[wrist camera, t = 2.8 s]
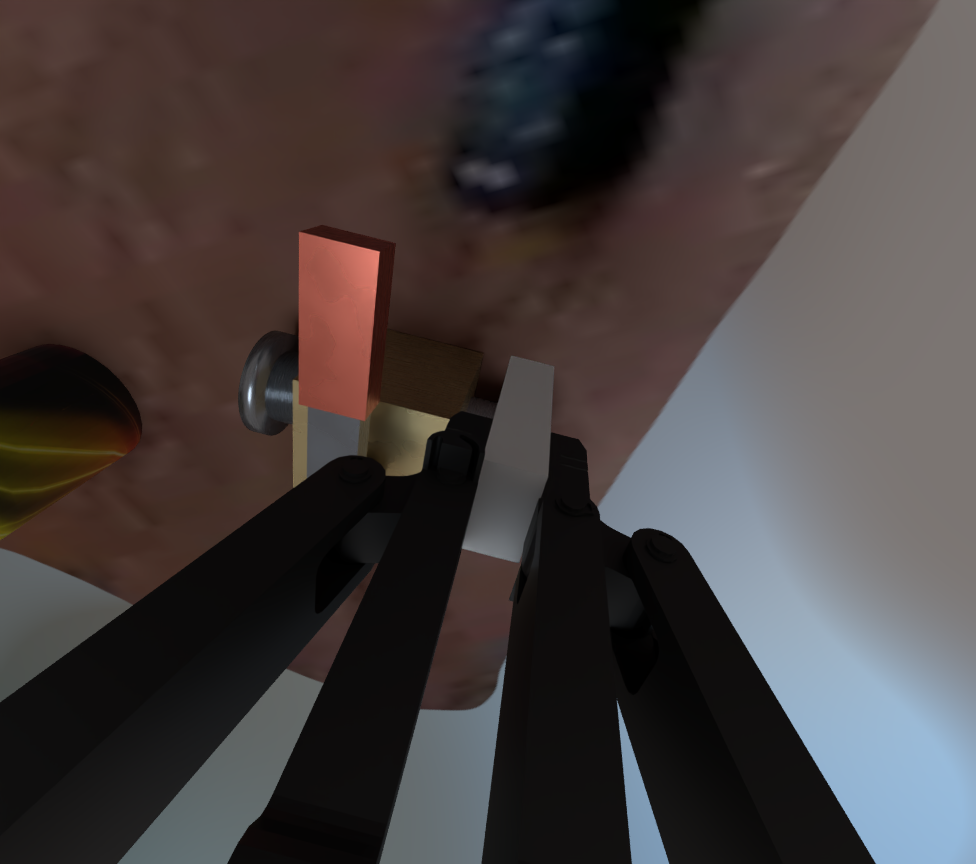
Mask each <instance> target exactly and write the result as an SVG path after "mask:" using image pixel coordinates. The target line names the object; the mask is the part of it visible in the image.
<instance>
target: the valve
mask: <svg viewBox="0 0 976 864" xmlns="http://www.w3.org/2000/svg"><path fill="white" fill-rule="evenodd" d="M483 354H484V353H480V352H476V351H472V350H469V349H465V348H461V347H457V346H453V345H449V344H445V343H441V342H437V341H433V340H429V339H425V338H421V337H417V336H413V335H409V334H405V333H401V332H397V331H393V330H389V329H387V334H386V344H385V353H384V363H383V373H382V383H381V393H380V402H379V403H378V405H377V406H376V407H375V408H374V410H373V411H372V412H371V415H370V425H369V436H368V447H367V457H370V458H372V459H374V460H375V461H377V462H379V463H380V464H381V465H382V466H383V468H384V469H385V471H386V475H387V476H408V475H413V474H417V473H419V472H421V470H422V467H423V461H424V455H425V449H426V443H427V439H428V438H429V437H430V436H431V435H432V434H433V433H436V432H439V431H445V429H446V426H447V424H448V422H449V420H450V418H451V417H452V416H453V415H455V414H457V413H458V412H460V411H464V412H468V413H472V414H476V415H480V416H484V417H487V418H491V419H494V415H495V412H496V408H497V405H498V403H496V402H492V401H488V400H484V399H480V398H476V397H474V396H475V391H476V387H477V382H478V377H479V373H480V368H481V364H482V359H483ZM238 404H239V412H240V416H241V419H242V421H243V423H244V425H245V426H246V427H247V428H248V429H249V430H251V431H254V432H258V433H262V434H266V435H271V436H272V435H276V434H278V433H280V432H281V431H283V430H284V429H285V428H286V427H287V426H288V424H293V488H294V487H296V486H297V485H298V484H300V483H301V482H302V481H304V480H305V479H307V423H308V407H307V406H303V405H299V337H298V336H296V335H293V334H289V333H285V332H281V331H271V332H269V333H267V334H265V335H264V336H263V337H262V338H261V339H260V340H259V341H258V342H257V343H256V344H255V346H254V347H253V349H252V351H251V352H250V354H249V356H248V358H247V361H246V363H245V366H244V369H243V372H242V375H241V380H240V385H239V395H238Z"/></svg>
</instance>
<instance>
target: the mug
mask: <svg viewBox="0 0 976 864" xmlns="http://www.w3.org/2000/svg"><path fill="white" fill-rule="evenodd" d="M141 434H142V422H141V417H140V413H139V410H138V408H137V405H136V403H135V401H134V399H133V398H132V396H131V394H130V393H129V391H128V390H127V389H126V387H125V386H124V385H123V383H122V382H121V381H120V380H119V379H118V378H117V377H116V376H115V375H114V374H113V373H112V372H111V371H110V370H109V369H108V368H106V367H105V366H104V365H102V364H101V363H100V362H99V361H97V360H95V359H94V358H92V357H90V356H89V355H87V354H85V353H83V352H80V351H78V350H76V349H73V348H70V347H66V346H62V345H54V344H46V345H40V346H36V347H34V348H31V349H28V350H25V351H23V352H20V353H17V354H14V355H12V356H9V357H6V358H3V359H1V360H0V540H1V539H3V538H4V537H6V536H7V535H9V534H10V533H11V532H13V531H14V530H16V529H17V528H19V527H20V526H22V525H23V524H25V523H26V522H28V521H29V520H30V519H32V518H33V517H35V516H36V515H38V514H39V513H41V512H42V511H44V510H45V509H47V508H48V507H50V506H51V505H52V504H54V503H55V502H57V501H58V500H60V499H61V498H63V497H64V496H66V495H67V494H69V493H70V492H71V491H73V490H74V489H76V488H77V487H79V486H80V485H82V484H83V483H85V482H86V481H88V480H89V479H91V478H92V477H93V476H95V475H96V474H98V473H99V472H101V471H102V470H104V469H105V468H107V467H108V466H110V465H111V464H112V463H114V462H115V461H117V460H118V459H120V458H121V457H123V456H124V455H126V454H127V453H129V452H130V451H131V450H133V449H134V448H135V447H136V445H137V444H138V443H139V440H140V437H141Z"/></svg>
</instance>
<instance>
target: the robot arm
mask: <svg viewBox="0 0 976 864" xmlns="http://www.w3.org/2000/svg"><path fill="white" fill-rule="evenodd" d="M553 381H554V366H551V365H547V364H543V363H539V362H535V361H531V360H527V359H523V358H519V357H515V356H511V358H510V362H509V365H508V369H507V372H506V376H505V380H504V383H503V387H502V390H501V394H500V398H499V401H498V405H497V408H496V412H495V415H494V419H491V418H487V417H484V416H480V415H476V414H472V413H468V412H464V411H460V412H458V413H457V414H455V415H453V416H452V417H451V418H450V420H449V422H448V424H447V426H446V429H445V431H439V432H436V433H433V434H432V435H431V436H430V437H429V438H428V439H427V443H426V449H425V455H424V461H423V467H422V470H421V472H419V473H417V474H413V475H408V476H387V475H386V471H385V469H384V468H383V466H382V465H381V464H380V463H379V462H377V461H375V460H374V459H372V458H368V457H365V456H359V455H348V456H342V457H338V458H336V459H334V460H332V461H330V462H328V463H327V464H326V465H324V466H323V467H322V468H320V469H319V470H317V471H316V472H315V473H313V474H312V475H311V476H309V477H308V478H307V479H305V480H304V481H302V482H301V483H300V484H298V485H297V486H296V487H294V488H293V489H292V490H290V491H289V492H287V493H286V494H285V495H283V496H282V497H281V498H279V499H278V500H276V501H275V502H274V503H272V504H271V505H270V506H268V507H267V508H266V509H264V510H263V511H261V512H260V513H259V514H257V515H256V516H255V517H253V518H252V519H250V520H249V521H248V522H246V523H245V524H244V525H242V526H241V527H240V528H238V529H237V530H235V531H234V532H233V533H231V534H230V535H229V536H227V537H226V538H224V539H223V540H222V541H220V542H219V543H218V544H216V545H215V546H214V547H212V548H211V549H209V550H208V551H207V552H205V553H204V554H203V555H201V556H200V557H199V558H197V559H196V560H194V561H193V562H192V563H190V564H189V565H188V566H186V567H185V568H183V569H182V570H181V571H179V572H178V573H177V574H175V575H174V576H173V577H171V578H170V579H168V580H167V581H166V582H164V583H163V584H162V585H160V586H159V587H157V588H156V589H155V590H153V591H152V592H151V593H149V594H148V595H147V596H145V597H144V598H142V599H141V600H140V601H138V602H137V603H136V604H134V605H133V606H131V607H130V608H129V609H127V610H126V611H125V612H124V613H122V614H121V615H119V616H118V617H116V618H115V619H114V620H112V621H111V622H110V623H108V624H107V625H105V626H104V627H103V628H101V629H100V630H99V631H97V632H96V633H95V634H93V635H92V636H90V637H89V638H88V639H87V640H85V641H84V642H82V643H81V644H80V645H78V646H77V647H75V648H74V649H73V650H71V651H70V652H69V653H67V654H66V655H64V656H63V657H62V658H60V659H59V660H58V661H56V662H55V663H54V664H52V665H51V666H49V667H48V668H47V669H45V670H44V671H43V672H41V673H40V674H39V675H37V676H36V677H34V678H33V679H32V680H30V681H29V682H28V683H26V684H25V685H23V686H22V687H21V688H19V689H18V690H17V691H15V692H14V693H13V694H11V695H10V696H9V697H7V698H6V699H4V700H3V701H2V702H0V864H117V863H118V862H119V861H120V860H121V859H122V857H123V856H124V855H125V854H126V853H127V852H128V850H129V849H130V848H131V847H132V846H133V845H134V843H135V842H136V841H137V840H138V839H139V837H140V836H141V835H142V834H143V833H144V832H145V831H146V830H147V828H148V827H149V826H150V825H151V824H152V823H153V821H154V820H155V819H156V818H157V817H158V816H159V815H160V813H161V812H162V811H163V810H164V809H165V808H166V807H167V805H168V804H169V803H170V802H171V801H172V800H173V798H174V797H175V796H176V795H177V794H178V792H179V791H180V790H181V789H182V788H183V787H184V786H185V784H186V783H187V782H188V781H189V780H190V779H191V778H192V776H193V775H194V774H195V773H196V772H197V771H198V770H199V768H200V767H201V766H202V765H203V764H204V763H205V761H206V760H207V759H208V758H209V757H210V756H211V754H212V753H213V752H214V751H215V750H216V749H217V748H218V746H219V745H220V744H221V743H222V742H223V741H224V739H225V738H226V737H227V736H228V735H229V734H230V733H231V731H232V730H233V729H234V728H235V727H236V726H237V724H238V723H239V722H240V721H241V720H242V719H243V718H244V716H245V715H246V714H247V713H248V712H249V711H250V709H251V708H252V707H253V706H254V705H255V704H256V702H257V701H258V700H259V699H260V698H261V697H262V695H263V694H264V693H265V692H266V691H267V690H268V689H269V687H270V686H271V685H272V684H273V683H274V682H275V680H276V679H277V678H278V677H279V676H280V674H282V672H283V671H284V670H285V669H286V668H287V667H288V666H289V664H290V663H291V662H292V661H293V660H294V659H295V657H296V656H297V655H298V654H299V653H300V652H301V650H302V649H303V648H304V647H305V646H306V645H307V644H308V642H309V641H310V640H311V639H312V638H313V637H314V635H315V634H316V633H317V632H318V631H319V630H320V629H321V627H322V626H323V625H324V624H325V623H326V622H327V620H328V619H329V618H330V617H331V616H332V615H333V614H334V612H335V611H336V610H337V609H338V608H339V607H340V605H341V604H342V603H343V602H344V601H345V600H346V598H347V597H348V596H349V595H350V594H351V593H352V592H353V590H354V589H355V588H356V587H357V586H358V585H359V583H360V582H361V581H362V580H363V579H364V578H365V577H366V575H367V574H368V573H369V572H370V571H371V569H372V568H373V566H374V564H375V563H379V564H378V566H377V568H376V570H375V573H374V575H373V577H372V579H371V581H370V584H369V586H368V588H367V590H366V592H365V594H364V597H363V599H362V601H361V603H360V605H359V608H358V610H357V612H356V614H355V616H354V618H353V621H352V623H351V625H350V627H349V629H348V631H347V634H346V636H345V638H344V640H343V642H342V645H341V647H340V649H339V651H338V653H337V655H336V658H335V660H334V662H333V664H332V666H331V668H330V671H329V673H328V675H327V677H326V679H325V682H324V684H323V686H322V688H321V690H320V693H319V695H318V697H317V699H316V701H315V703H314V706H313V708H312V710H311V712H310V714H309V716H308V719H307V721H306V723H305V725H304V727H303V730H302V732H301V734H300V736H299V738H298V741H297V743H296V745H295V747H294V749H293V752H292V754H291V756H290V758H289V760H288V762H287V765H286V766H285V769H284V771H283V773H282V775H281V778H280V780H279V782H278V784H277V786H276V788H275V790H274V793H273V795H272V797H271V799H270V801H269V803H268V805H267V807H266V808H265V810H264V811H263V813H262V814H261V816H260V817H259V818H258V819H257V820H255V822H253V823H252V824H251V825H250V826H249V827H248V829H247V830H246V832H245V833H244V835H243V836H242V838H241V839H240V841H239V842H238V844H237V846H236V848H235V850H234V852H233V854H232V856H231V858H230V859H229V861H228V863H227V864H379V863H380V859H381V855H382V851H383V848H384V844H385V840H386V836H387V832H388V829H389V825H390V821H391V817H392V813H393V809H394V806H395V802H396V798H397V794H398V790H399V787H400V783H401V779H402V775H403V771H404V768H405V764H406V760H407V756H408V752H409V748H410V744H411V741H412V737H413V733H414V730H415V725H416V722H417V718H418V714H419V711H420V707H421V703H422V699H423V695H424V691H425V688H426V684H427V680H428V676H429V672H430V669H431V665H432V661H433V657H434V653H435V650H436V646H437V642H438V638H439V634H440V631H441V627H442V623H443V619H444V615H445V611H446V608H447V604H448V600H449V596H450V592H451V589H452V585H453V581H454V577H455V573H456V570H457V566H458V562H459V558H460V554H461V550H462V549H466V550H470V551H474V552H478V553H482V554H485V555H489V556H493V557H497V558H501V559H505V560H509V561H512V562H516V563H519V561H520V558H521V555H522V563H521V566H520V569H519V572H518V575H517V578H516V581H515V584H514V587H513V590H512V593H511V595H510V598H509V600H510V601H513V609H512V617H511V626H510V634H509V642H508V650H507V658H506V667H505V675H504V684H503V692H502V700H501V708H500V716H499V724H498V732H497V741H496V749H495V757H494V765H493V774H492V782H491V790H490V798H489V807H488V815H487V823H486V831H485V839H484V848H483V856H482V864H632V861H631V851H630V839H629V828H628V817H627V806H626V797H625V785H624V774H623V763H622V752H621V741H620V730H619V719H618V709H617V701H618V704H619V707H620V710H621V713H622V717H623V720H624V723H625V726H626V729H627V732H628V736H629V739H630V742H631V745H632V748H633V751H634V754H635V757H636V760H637V764H638V767H639V770H640V773H641V776H642V779H643V783H644V786H645V789H646V792H647V795H648V798H649V801H650V804H651V807H652V811H653V814H654V817H655V820H656V823H657V826H658V829H659V832H660V836H661V839H662V842H663V845H664V848H665V851H666V855H667V858H668V861H669V864H876V863H875V862H874V860H873V858H872V857H871V855H870V853H869V852H868V850H867V848H866V847H865V845H864V843H863V842H862V840H861V838H860V837H859V835H858V833H857V832H856V830H855V828H854V827H853V825H852V823H851V822H850V820H849V818H848V817H847V815H846V813H845V811H844V810H843V808H842V807H841V805H840V803H839V802H838V800H837V798H836V796H835V795H834V793H833V791H832V790H831V788H830V786H829V785H828V783H827V781H826V780H825V778H824V776H823V775H822V773H821V771H820V770H819V768H818V766H817V765H816V763H815V761H814V760H813V758H812V756H811V755H810V753H809V752H808V750H807V748H806V747H805V745H804V743H803V741H802V740H801V738H800V736H799V735H798V733H797V731H796V730H795V728H794V727H793V725H792V723H791V721H790V720H789V718H788V717H787V715H786V713H785V712H784V710H783V708H782V706H781V705H780V703H779V701H778V700H777V698H776V696H775V695H774V693H773V691H772V690H771V688H770V686H769V685H768V683H767V681H766V680H765V678H764V676H763V675H762V673H761V671H760V670H759V668H758V666H757V665H756V663H755V661H754V660H753V658H752V657H751V655H750V653H749V651H748V650H747V648H746V646H745V645H744V643H743V642H742V640H741V638H740V636H739V635H738V633H737V631H736V630H735V628H734V626H733V625H732V623H731V622H730V620H729V618H728V616H727V615H726V613H725V612H724V610H723V608H722V606H721V605H720V603H719V602H718V600H717V598H716V596H715V595H714V593H713V591H712V590H711V588H710V586H709V585H708V583H707V581H706V580H705V578H704V577H703V575H702V573H701V571H700V570H699V568H698V566H697V565H696V563H695V562H694V560H693V558H692V556H691V555H690V553H689V552H688V550H687V549H686V548H685V547H684V546H683V544H682V543H680V542H679V541H678V540H676V539H675V538H674V537H673V536H671V535H668V534H666V533H664V532H662V531H659V530H655V529H650V528H646V529H639V530H637V531H636V532H634V533H633V535H632V537H631V538H630V537H628V536H626V535H624V534H622V533H620V532H618V531H616V530H614V529H612V528H611V527H609V526H607V525H606V524H605V523H603V522H602V521H601V520H600V514H599V511H598V508H597V506H596V505H595V504H594V503H593V502H592V501H591V499H590V492H589V478H588V472H587V471H588V465H587V451H586V449H585V448H584V446H583V445H582V443H581V442H580V440H579V439H575V438H571V437H567V436H563V435H559V434H555V433H552V432H551V417H552V399H553ZM522 552H523V554H522Z"/></svg>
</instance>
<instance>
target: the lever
mask: <svg viewBox="0 0 976 864" xmlns="http://www.w3.org/2000/svg"><path fill="white" fill-rule="evenodd" d="M395 246H396V243H393V242H389V241H385V240H381V239H377V238H373V237H369V236H365V235H360V234H356V233H352V232H348V231H344V230H340V229H336V228H332V227H328V226H324V225H320V226H317V227H314V228H310V229H307V230H303V231H300V232H299V405H303V406H307V407H308V423H307V478H308V477H309V476H311V475H312V474H313V473H315V472H316V471H317V470H319V469H320V468H322V467H323V466H324V465H326V464H327V463H328V462H330V461H332V460H334V459H336V458H338V457H342V456H348V455H359V456H365V457H367V447H368V436H369V425H370V415H371V412H372V411H373V410H374V408H375V407H376V406H377V405H378V403H379V402H380V393H381V383H382V373H383V363H384V353H385V344H386V334H387V324H388V314H389V304H390V295H391V285H392V275H393V265H394V255H395ZM368 458H370V457H368Z"/></svg>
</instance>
